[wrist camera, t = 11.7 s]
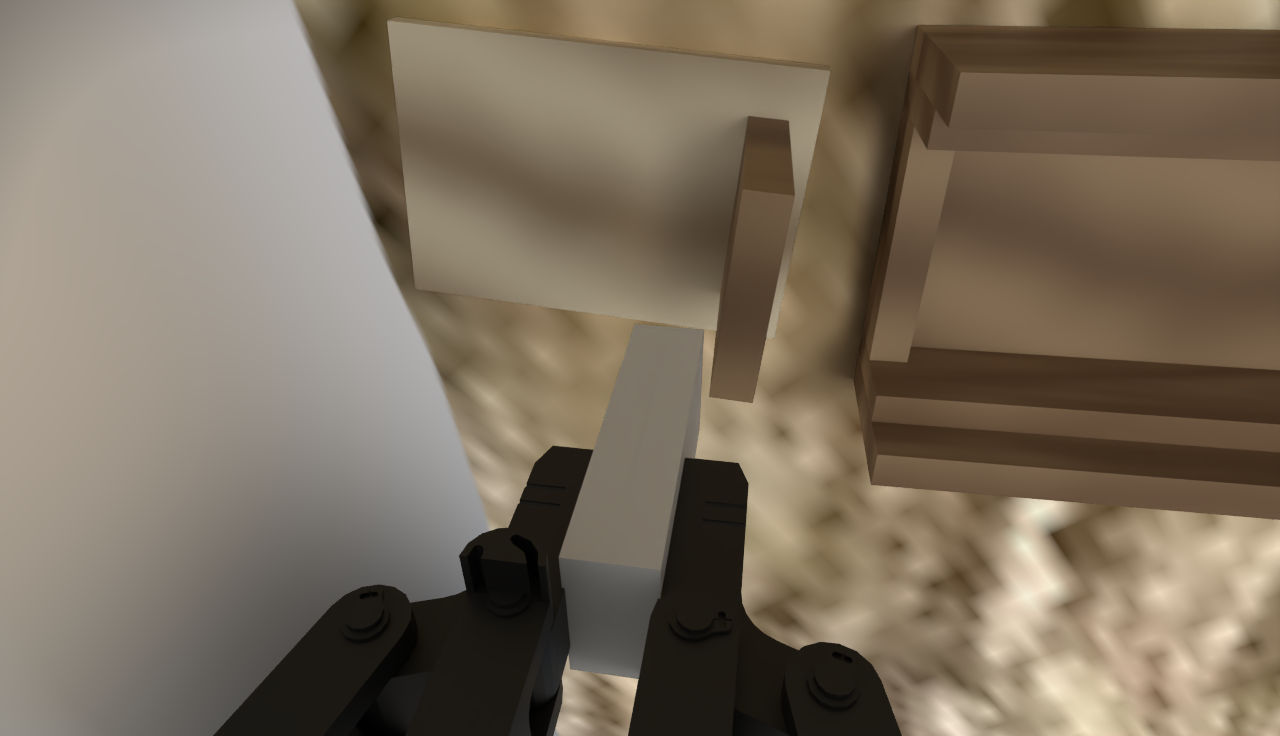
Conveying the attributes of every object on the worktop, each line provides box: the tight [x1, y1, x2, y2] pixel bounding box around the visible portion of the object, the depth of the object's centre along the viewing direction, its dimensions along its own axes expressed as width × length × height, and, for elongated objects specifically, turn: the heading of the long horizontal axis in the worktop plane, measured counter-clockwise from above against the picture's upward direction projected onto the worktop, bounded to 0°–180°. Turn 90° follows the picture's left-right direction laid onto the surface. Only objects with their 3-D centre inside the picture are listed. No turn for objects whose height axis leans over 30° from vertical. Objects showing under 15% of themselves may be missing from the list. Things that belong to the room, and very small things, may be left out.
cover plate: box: [387, 17, 831, 403], centre depth 22 cm, size 9×13×7 cm
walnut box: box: [854, 25, 1280, 520], centre depth 21 cm, size 12×16×6 cm
